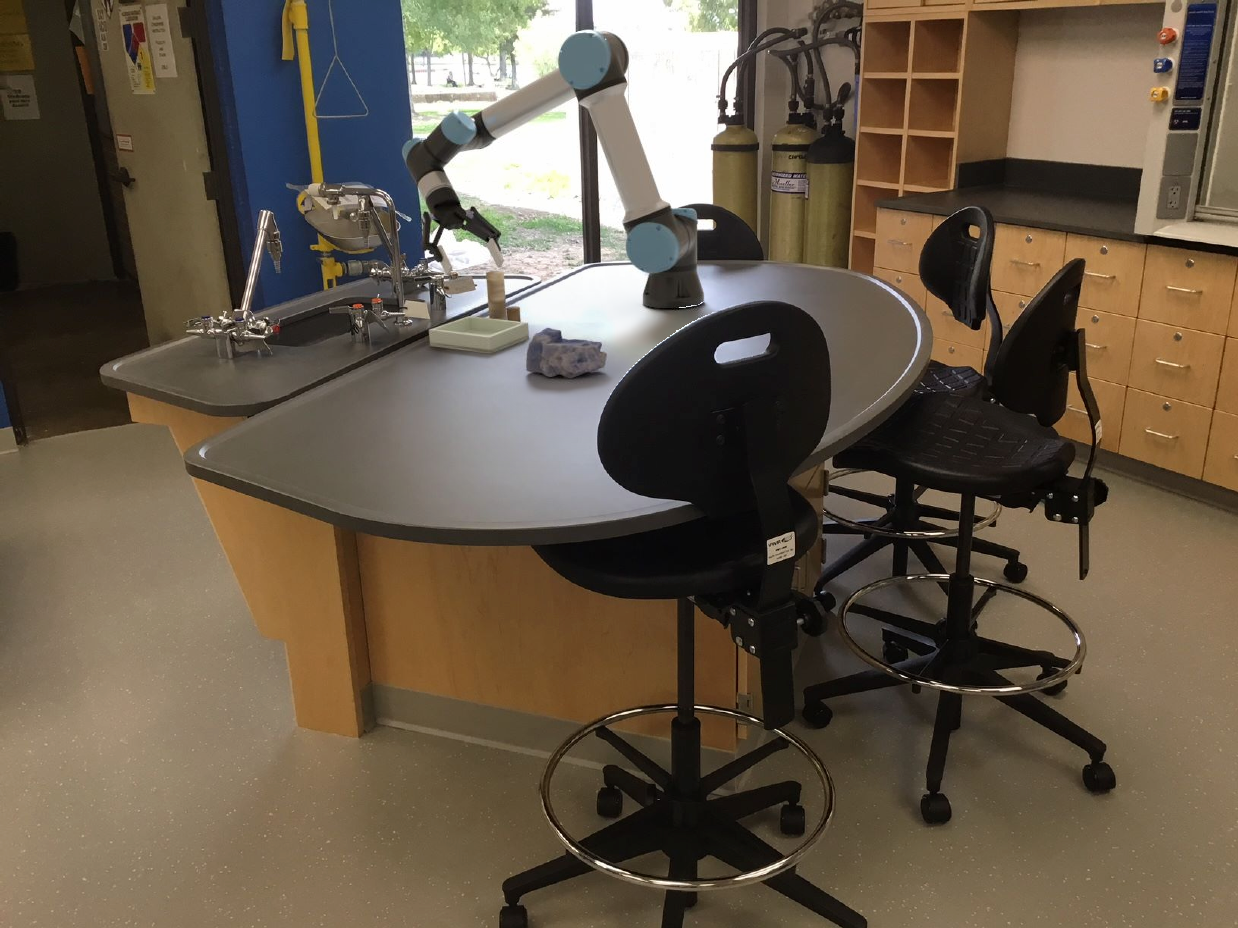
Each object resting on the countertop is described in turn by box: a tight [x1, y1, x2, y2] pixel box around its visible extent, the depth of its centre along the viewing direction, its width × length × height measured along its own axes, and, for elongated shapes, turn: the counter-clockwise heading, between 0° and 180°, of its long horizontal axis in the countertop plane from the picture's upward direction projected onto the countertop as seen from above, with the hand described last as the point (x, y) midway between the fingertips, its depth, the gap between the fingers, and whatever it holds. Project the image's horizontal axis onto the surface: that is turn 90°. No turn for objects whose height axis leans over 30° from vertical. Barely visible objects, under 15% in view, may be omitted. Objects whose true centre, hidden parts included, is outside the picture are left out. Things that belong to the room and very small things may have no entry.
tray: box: [428, 315, 530, 355], centre depth 218 cm, size 16×14×4 cm
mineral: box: [525, 327, 608, 379], centre depth 192 cm, size 14×10×10 cm
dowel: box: [485, 270, 507, 320], centre depth 231 cm, size 4×4×12 cm
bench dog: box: [506, 305, 522, 322], centre depth 227 cm, size 3×3×5 cm
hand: (475, 268), depth 234 cm, fingers open, 13 cm apart
